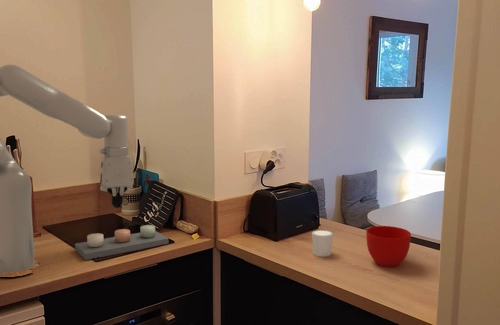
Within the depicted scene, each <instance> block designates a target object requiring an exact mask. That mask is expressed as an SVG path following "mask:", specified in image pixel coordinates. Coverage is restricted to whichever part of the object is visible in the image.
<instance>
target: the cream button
mask: <svg viewBox="0 0 500 325" xmlns="http://www.w3.org/2000/svg"><path fill="white" fill-rule="evenodd" d="M86 239H87V241H86V242H87V244H88V246H89V247H99V246H102V245H103V244H104V239H105V238H104V234H103V233H99V232H98V233H90V234H88V235H87V236H86Z"/></svg>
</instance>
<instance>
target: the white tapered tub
mask: <svg viewBox="0 0 500 325" xmlns="http://www.w3.org/2000/svg"><path fill="white" fill-rule="evenodd" d="M333 238H334V233H333V232H332V231H331V230H323V229H318V230H313V231H312V232H311V239H312V240H311V241H312V250H313V255H314V256H316V257H330V256H331V255H332V247H333V240H334V239H333Z"/></svg>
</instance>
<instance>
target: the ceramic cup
mask: <svg viewBox="0 0 500 325" xmlns="http://www.w3.org/2000/svg"><path fill="white" fill-rule="evenodd" d="M365 231H366V235H365V236H366V245H367V246H366V247H367V250H368V253H369V255H370V256H371V258H372V260H373V261H374V262H375V263H376V265H378V266H381V267H384V268H396V267H397V266H399V265H400V264H401V263H402V262H403V261H404V260H405V259H406V257H407V256H408V253H409V250H410V245H411V239H412V233H411V232H410V231H409V230H408V229H405V228H402V227H396V226H391V225H378V226H377V225H376V226H375V225H374V226H371V227H368V228H367V230H365Z"/></svg>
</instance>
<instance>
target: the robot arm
mask: <svg viewBox="0 0 500 325" xmlns="http://www.w3.org/2000/svg"><path fill="white" fill-rule="evenodd" d="M6 96H10V97H12V98H13V99H15V100H18V102H21V103H22V104H25V105H26V106H28V107H30V108H32V109H34V110H35V111H37V112H39V113H41V114H43V115H45V116H46V117H49V118H53V119H55V120H58V121H61V122H63V123H65V124H68V125H69V126H72V127H73V128H75V129H77V130H78V132H79V133H80V134H81V135H82V136H84V137H88V138H92V139H97V140H99V139H103V144H104V145H103V148H102V149H99V153H100V154H103V156H102V159H101V163H100V171H99V173H100V174H99V183H100V187H99V190H100V191H101V192H108V193H109V194H110V195H111V206H113V208H114V209H120V208H122V205H123V196H124V194H125V192H127V190H131V189H133V188H134V180H135V179H134V167H133V161H132V157H131V155H129V120H128V119H129V118H128V117H127V116H126V115H124V114H106V115H104V114H102V113H100V112H99V111H97V110H95V109H94V108H92V107H90V106H88V105H86V104H85V103H83V102H81V101H80V100H78V99H76V98H73V97H72V96H70V95H69V94H67V93H65V92H63V91H61V90H60V89H58V88H56V87H54V86H53V85H51V84H49V83H47V82H46V81H44V80H43V79H40V77H37V76H36V75H34V74H33V73H30V72H29V71H28V70H26V69H24V68H22V67H20V66H18V65H16V64H6V65H3V66H0V97H6ZM6 146H7V145H6V144H5V142H4V140H2V139H1V138H0V274H3V273H4V272H5V273H6V272H7V273H9V272H18V271H23V270H27V269H29V268H31V267H33V266H34V265H35V260H36V258H35V257H36V256H35V243H34V241H35V240H34V228H33V223H34V222H33V213H32V212H33V211H32V209H33V208H32V194H33V192H32V190H33V188H32V187H33V186H32V180H31V178H30V176H29V174H28V173H27V171H26V170H25V169H23V168H22V167H21V166H20V165H19V164H18V163H17V161H16V160H15V159H14V157H13V156H12V154H11V153H10V152H9V150H8V148H7V147H6ZM116 188H117V189H116ZM3 275H4V274H3Z"/></svg>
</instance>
